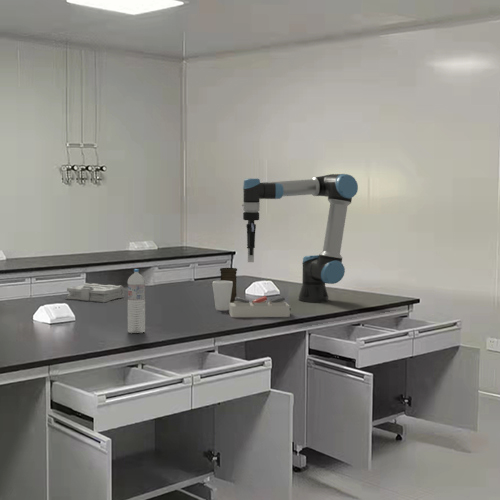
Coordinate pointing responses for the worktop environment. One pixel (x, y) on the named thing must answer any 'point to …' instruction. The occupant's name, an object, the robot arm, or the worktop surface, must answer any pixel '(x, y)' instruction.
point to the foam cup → (222, 294)
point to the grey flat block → (95, 292)
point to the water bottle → (136, 303)
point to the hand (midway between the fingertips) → (250, 262)
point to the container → (230, 279)
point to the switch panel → (259, 309)
